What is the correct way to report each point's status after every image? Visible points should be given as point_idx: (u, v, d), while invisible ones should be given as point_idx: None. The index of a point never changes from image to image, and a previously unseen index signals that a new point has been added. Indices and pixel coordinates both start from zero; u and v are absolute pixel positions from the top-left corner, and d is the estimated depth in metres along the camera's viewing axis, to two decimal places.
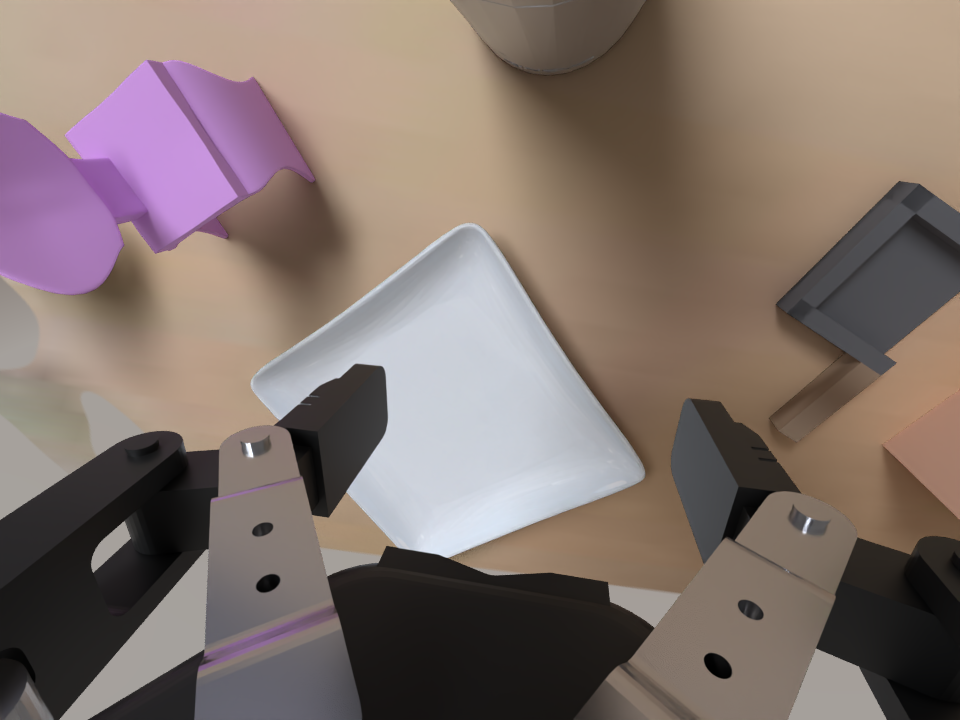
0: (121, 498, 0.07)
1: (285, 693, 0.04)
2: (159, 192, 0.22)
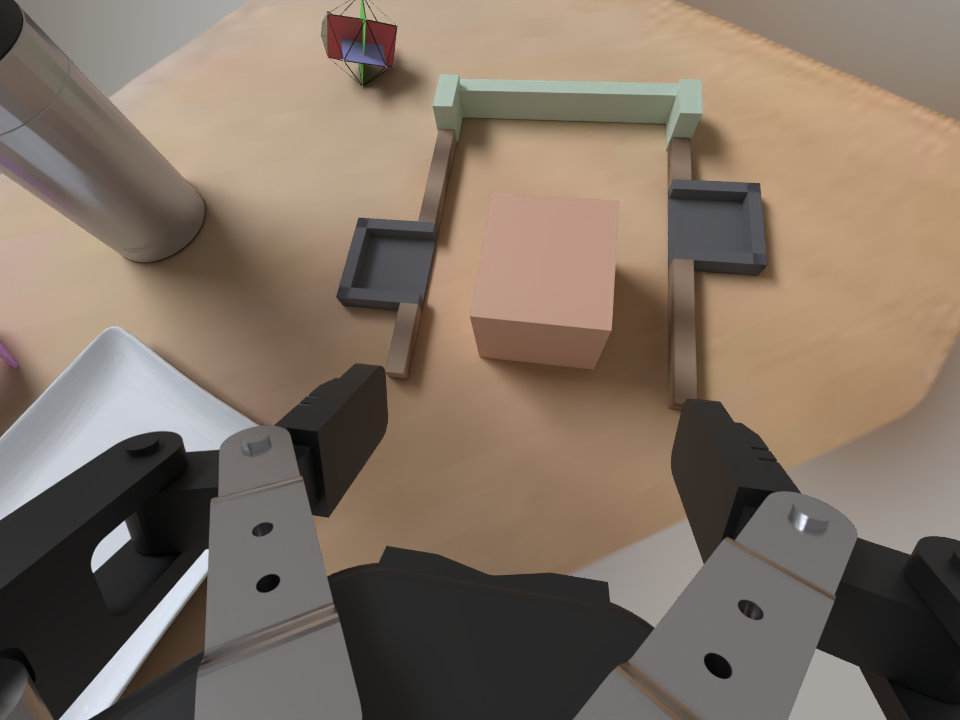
0: (121, 498, 0.07)
1: (284, 693, 0.04)
2: None
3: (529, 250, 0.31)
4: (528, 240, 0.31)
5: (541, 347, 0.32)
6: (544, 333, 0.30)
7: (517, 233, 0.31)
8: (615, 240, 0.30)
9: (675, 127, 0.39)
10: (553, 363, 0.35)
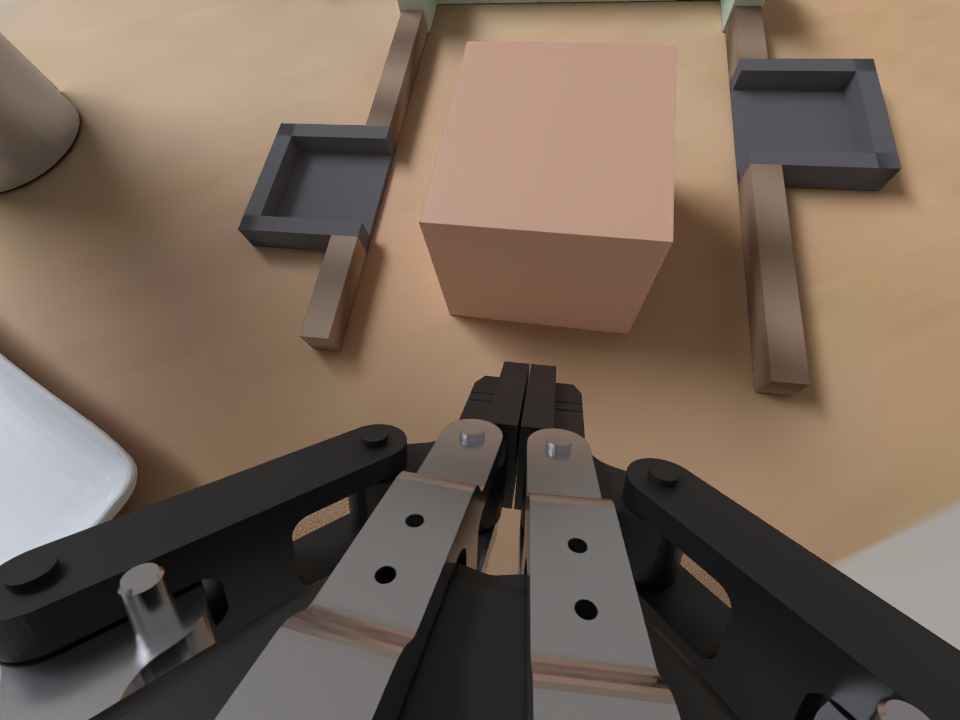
0: (332, 484, 0.08)
1: (314, 694, 0.04)
2: None
3: (525, 119, 0.18)
4: (524, 105, 0.18)
5: (545, 290, 0.20)
6: (549, 258, 0.17)
7: (506, 95, 0.19)
8: (673, 100, 0.18)
9: None
10: (564, 323, 0.22)
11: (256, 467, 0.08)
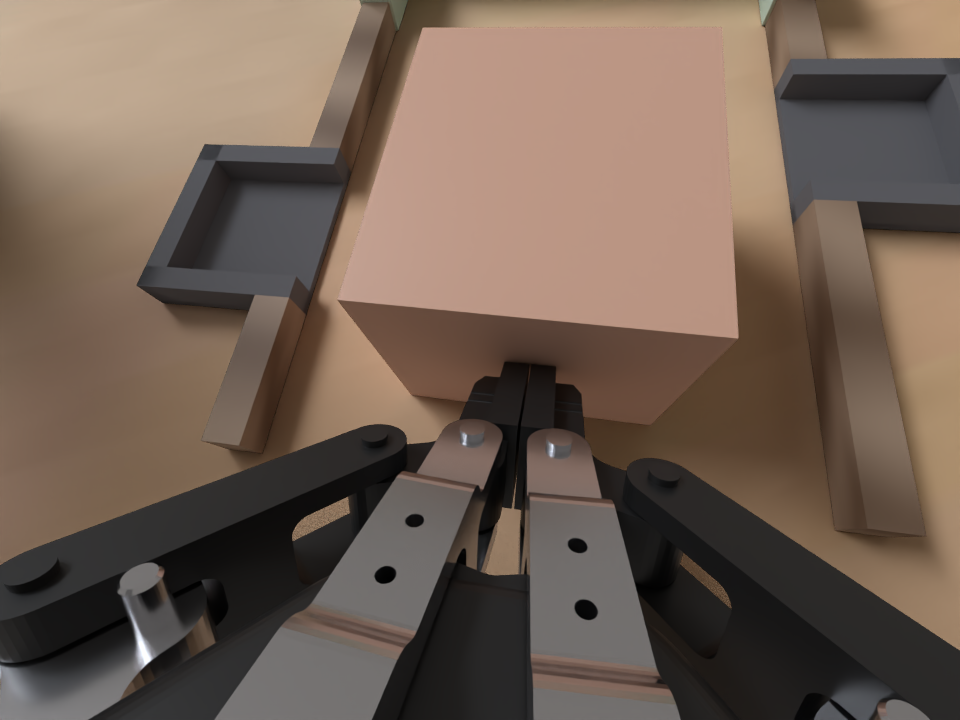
0: (332, 484, 0.08)
1: (313, 693, 0.04)
2: None
3: (502, 138, 0.12)
4: (502, 117, 0.13)
5: None
6: (540, 347, 0.11)
7: (476, 103, 0.13)
8: (722, 108, 0.12)
9: None
10: None
11: (256, 466, 0.08)
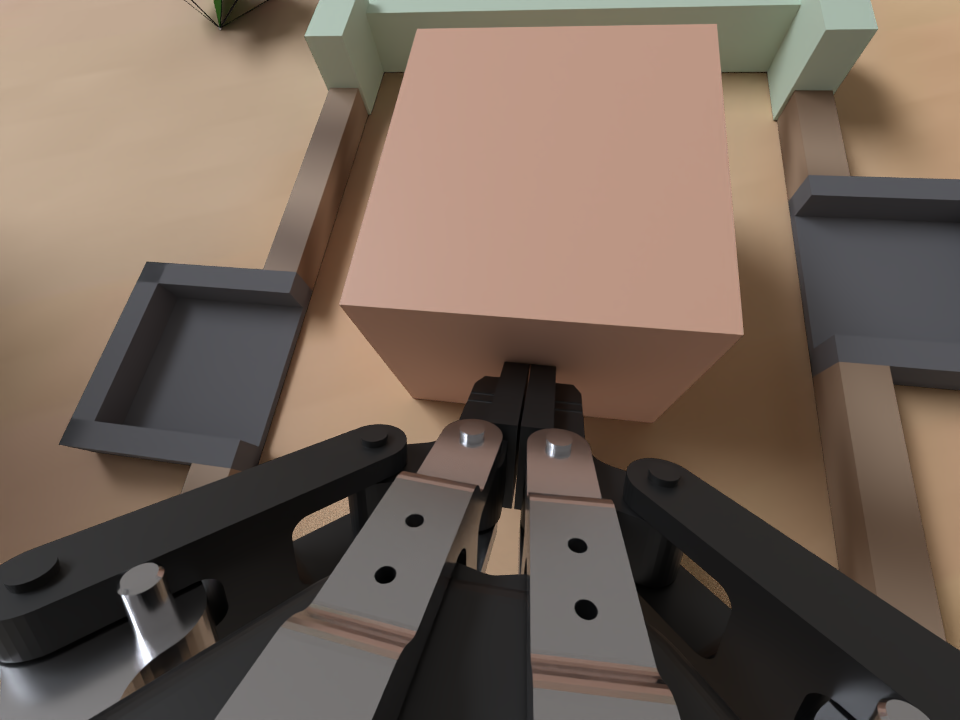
0: (332, 484, 0.08)
1: (315, 694, 0.04)
2: None
3: (500, 138, 0.12)
4: (499, 118, 0.12)
5: None
6: (543, 348, 0.11)
7: (473, 104, 0.13)
8: (720, 105, 0.12)
9: (806, 66, 0.19)
10: None
11: (256, 466, 0.08)
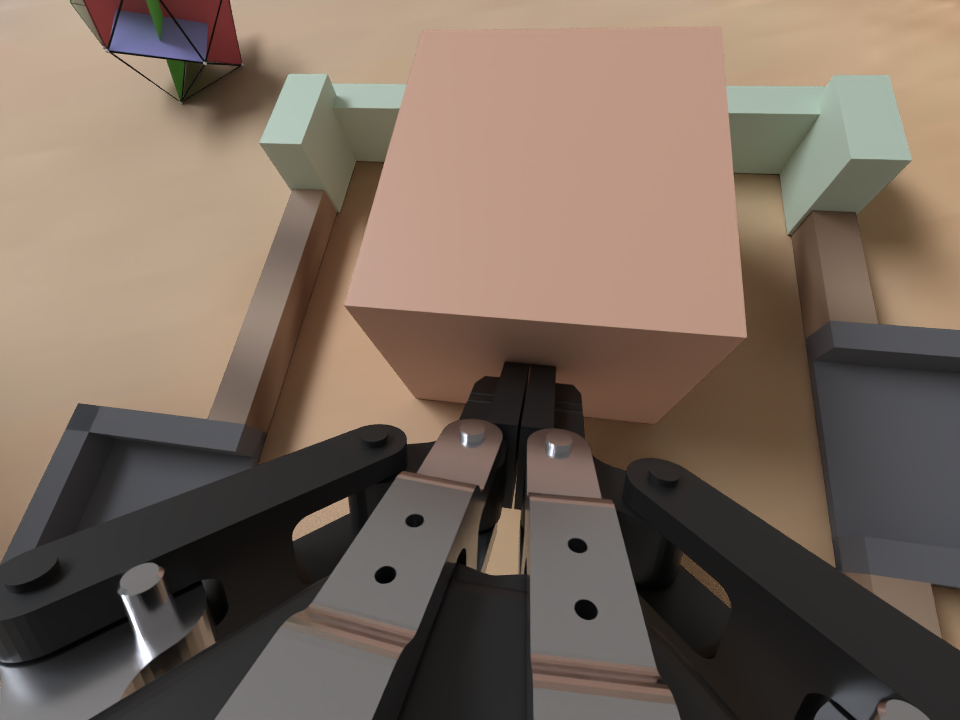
0: (332, 484, 0.08)
1: (313, 695, 0.04)
2: None
3: (505, 140, 0.12)
4: (504, 120, 0.13)
5: None
6: (547, 349, 0.12)
7: (478, 105, 0.13)
8: (724, 108, 0.12)
9: (827, 190, 0.16)
10: None
11: (256, 466, 0.08)
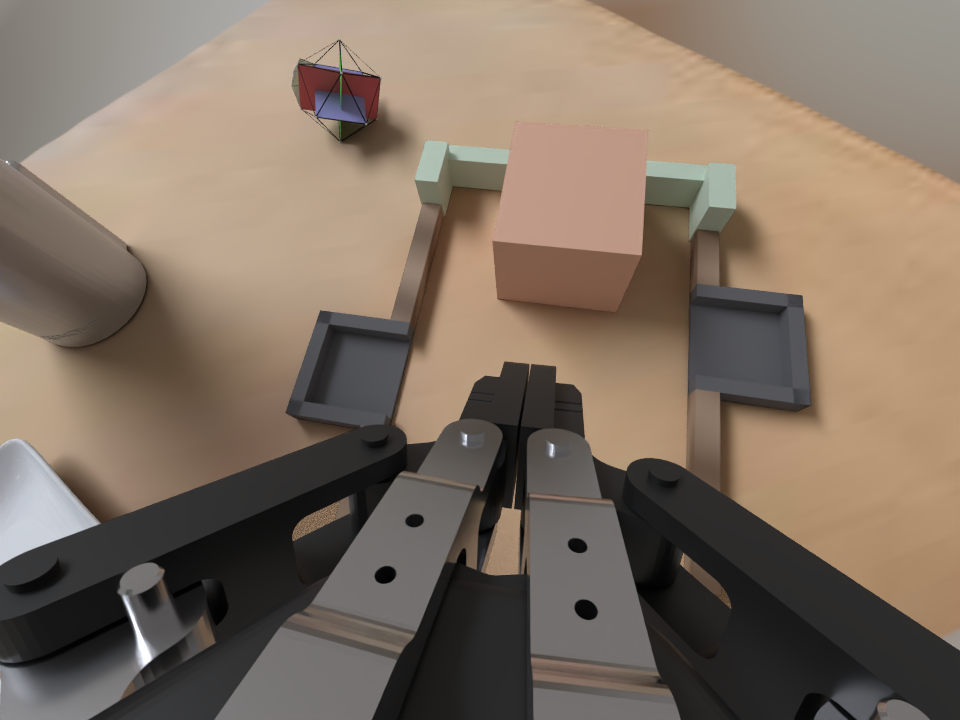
0: (333, 484, 0.08)
1: (313, 695, 0.04)
2: None
3: (554, 177, 0.29)
4: (553, 167, 0.30)
5: (564, 282, 0.31)
6: (569, 262, 0.29)
7: (542, 160, 0.30)
8: (644, 167, 0.29)
9: (702, 220, 0.33)
10: (574, 304, 0.34)
11: (256, 467, 0.08)
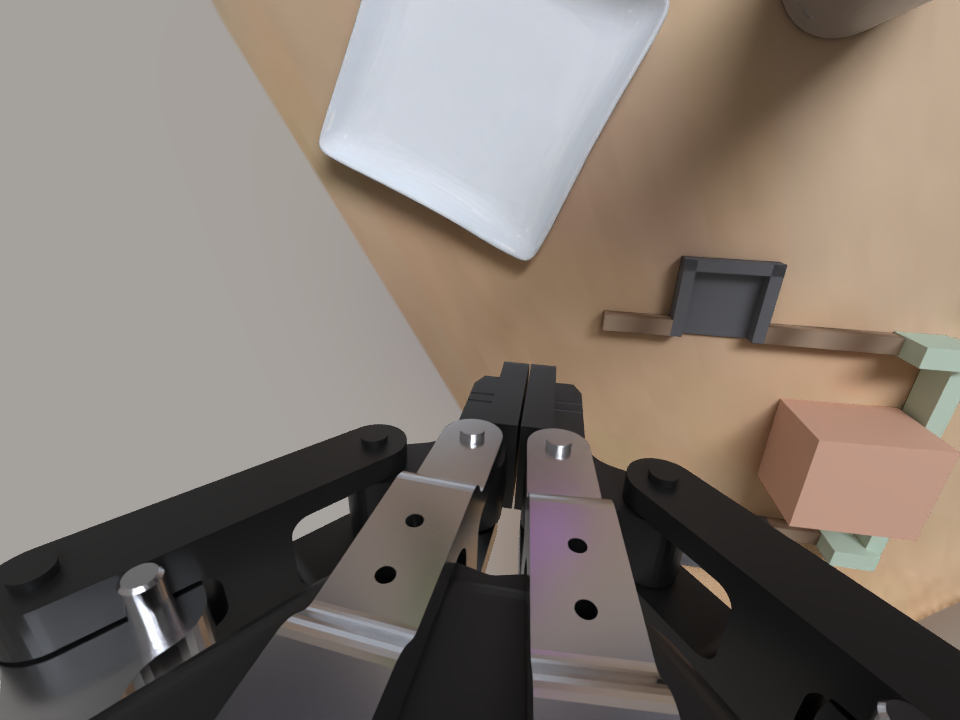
0: (332, 484, 0.08)
1: (313, 695, 0.04)
2: None
3: (879, 480, 0.37)
4: (890, 479, 0.37)
5: (782, 460, 0.42)
6: (793, 477, 0.40)
7: (901, 472, 0.37)
8: (873, 535, 0.39)
9: (827, 541, 0.46)
10: (766, 452, 0.45)
11: (256, 466, 0.08)
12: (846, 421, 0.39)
